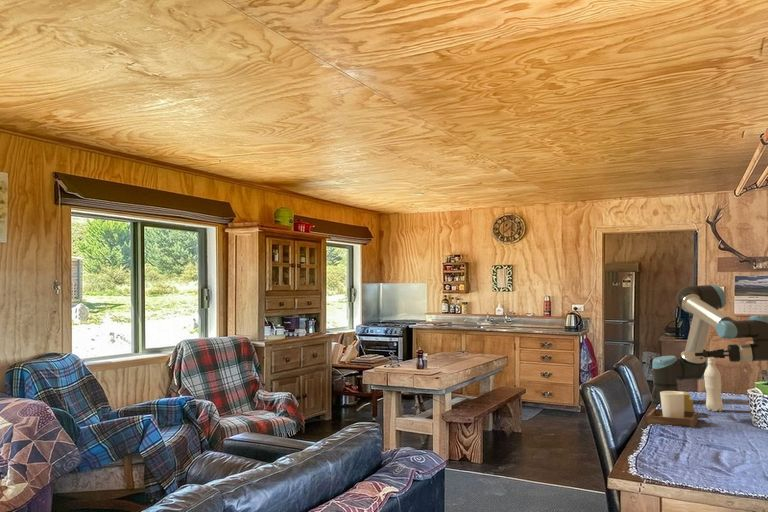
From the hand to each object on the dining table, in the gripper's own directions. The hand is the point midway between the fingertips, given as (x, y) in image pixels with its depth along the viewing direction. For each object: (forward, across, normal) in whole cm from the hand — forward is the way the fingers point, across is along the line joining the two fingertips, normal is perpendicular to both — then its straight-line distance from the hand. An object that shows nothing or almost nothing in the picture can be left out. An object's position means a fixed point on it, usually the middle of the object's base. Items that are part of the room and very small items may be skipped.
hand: (685, 355), depth 264 cm
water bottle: (-12, +29, -27) cm, 41 cm away
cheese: (+5, +16, -27) cm, 32 cm away
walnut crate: (+9, -2, -29) cm, 30 cm away
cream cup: (+8, -3, -28) cm, 30 cm away
